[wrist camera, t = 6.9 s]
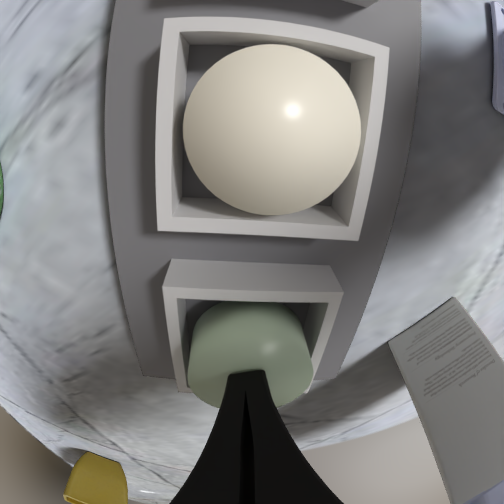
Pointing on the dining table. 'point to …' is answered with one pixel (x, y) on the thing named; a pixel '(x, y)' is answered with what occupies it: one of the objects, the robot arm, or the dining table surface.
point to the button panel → (226, 216)
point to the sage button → (249, 350)
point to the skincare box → (456, 397)
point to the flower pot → (96, 482)
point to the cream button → (271, 129)
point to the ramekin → (1, 189)
